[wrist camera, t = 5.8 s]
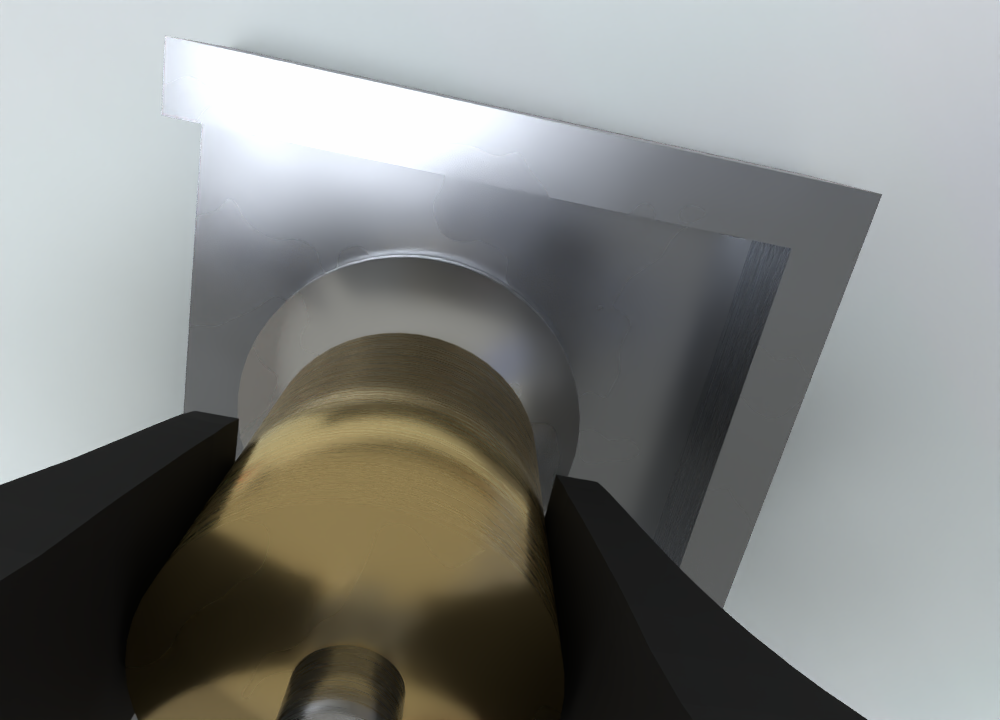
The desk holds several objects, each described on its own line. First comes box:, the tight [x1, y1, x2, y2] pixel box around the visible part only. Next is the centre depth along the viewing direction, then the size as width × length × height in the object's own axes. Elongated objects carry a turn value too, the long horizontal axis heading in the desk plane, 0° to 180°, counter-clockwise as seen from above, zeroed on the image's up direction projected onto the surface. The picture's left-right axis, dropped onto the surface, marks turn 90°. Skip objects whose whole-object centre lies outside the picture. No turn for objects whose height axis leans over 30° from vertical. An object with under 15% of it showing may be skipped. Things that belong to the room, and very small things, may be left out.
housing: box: [125, 333, 564, 720], centre depth 9 cm, size 4×4×6 cm
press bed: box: [162, 36, 882, 609], centre depth 13 cm, size 10×10×2 cm
